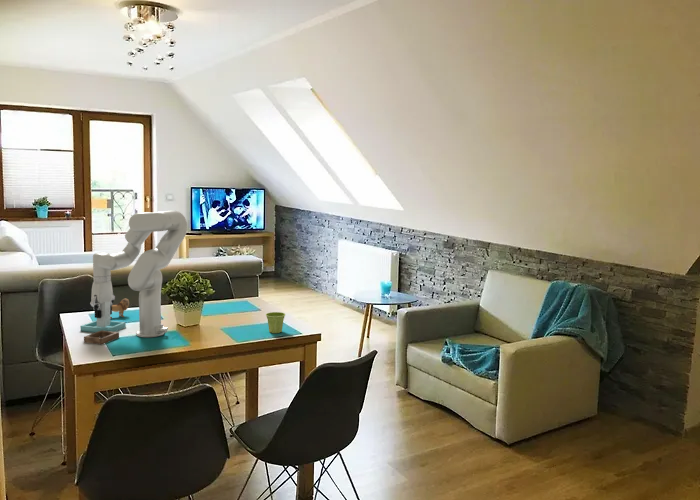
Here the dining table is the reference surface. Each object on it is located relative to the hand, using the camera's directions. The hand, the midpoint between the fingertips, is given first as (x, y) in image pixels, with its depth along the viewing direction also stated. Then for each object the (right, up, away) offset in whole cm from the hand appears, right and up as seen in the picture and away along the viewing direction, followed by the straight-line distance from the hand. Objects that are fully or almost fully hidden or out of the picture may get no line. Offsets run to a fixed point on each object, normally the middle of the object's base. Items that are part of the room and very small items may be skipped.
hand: (103, 315), depth 284 cm
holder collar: (+6, -9, -16) cm, 20 cm away
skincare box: (0, -5, 0) cm, 5 cm away
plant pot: (+81, -8, +5) cm, 81 cm away
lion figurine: (-4, -3, +25) cm, 26 cm away
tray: (0, -7, +1) cm, 7 cm away
